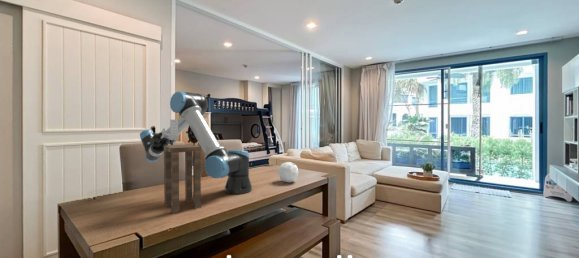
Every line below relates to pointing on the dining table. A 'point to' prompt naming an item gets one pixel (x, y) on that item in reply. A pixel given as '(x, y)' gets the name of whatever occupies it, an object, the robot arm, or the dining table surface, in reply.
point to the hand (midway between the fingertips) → (168, 130)
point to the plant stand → (173, 175)
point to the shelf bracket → (172, 131)
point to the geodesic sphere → (288, 172)
